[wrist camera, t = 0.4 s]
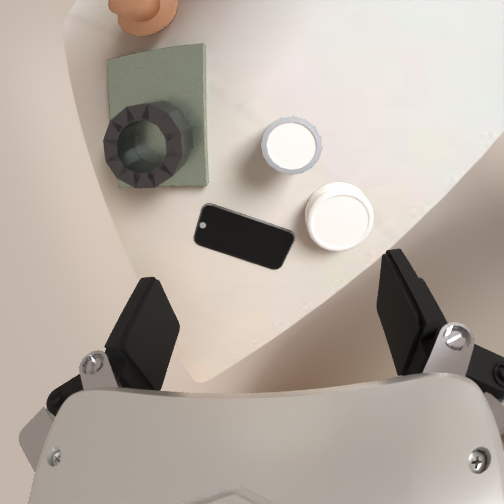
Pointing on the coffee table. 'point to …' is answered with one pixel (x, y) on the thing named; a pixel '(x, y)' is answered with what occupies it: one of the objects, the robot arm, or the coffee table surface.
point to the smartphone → (243, 236)
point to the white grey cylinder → (291, 145)
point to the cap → (144, 15)
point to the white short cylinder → (338, 217)
